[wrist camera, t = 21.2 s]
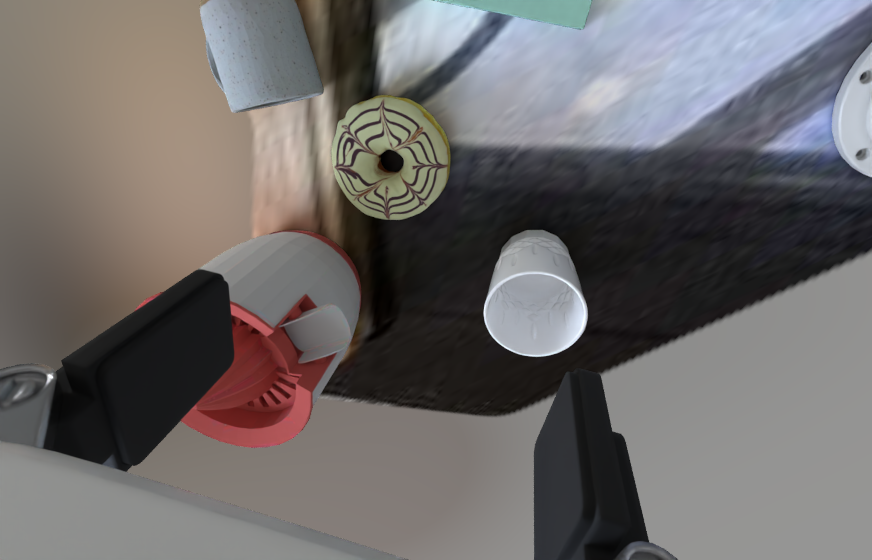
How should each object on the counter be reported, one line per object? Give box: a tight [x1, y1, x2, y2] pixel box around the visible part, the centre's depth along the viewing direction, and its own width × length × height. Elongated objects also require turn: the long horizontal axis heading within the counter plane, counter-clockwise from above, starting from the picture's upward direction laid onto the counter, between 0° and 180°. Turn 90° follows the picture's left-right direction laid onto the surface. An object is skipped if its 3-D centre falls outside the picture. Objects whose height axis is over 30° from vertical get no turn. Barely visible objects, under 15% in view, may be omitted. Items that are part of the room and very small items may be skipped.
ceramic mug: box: [200, 0, 324, 113], centre depth 34 cm, size 11×8×8 cm
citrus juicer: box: [135, 230, 361, 448], centre depth 39 cm, size 16×17×20 cm
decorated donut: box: [331, 95, 450, 220], centre depth 38 cm, size 10×11×4 cm
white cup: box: [484, 230, 588, 356], centre depth 38 cm, size 8×8×10 cm
